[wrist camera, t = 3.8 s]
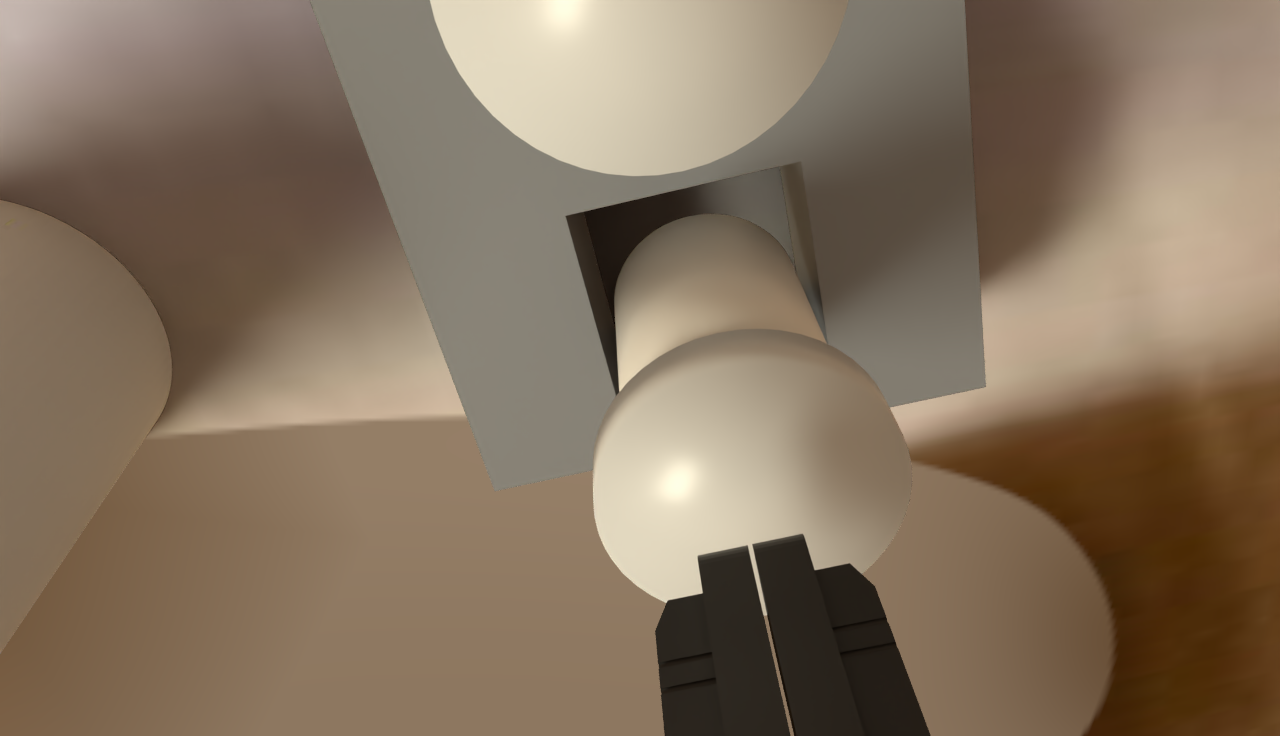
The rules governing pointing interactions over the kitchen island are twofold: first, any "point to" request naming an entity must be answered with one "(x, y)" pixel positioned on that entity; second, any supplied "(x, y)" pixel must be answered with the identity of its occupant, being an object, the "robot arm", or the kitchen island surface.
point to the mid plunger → (638, 73)
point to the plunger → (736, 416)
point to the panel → (560, 192)
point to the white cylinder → (66, 393)
